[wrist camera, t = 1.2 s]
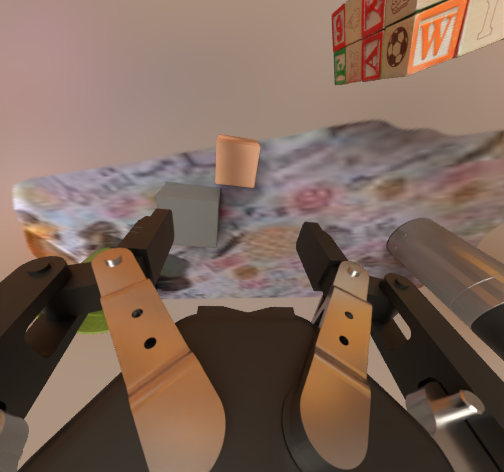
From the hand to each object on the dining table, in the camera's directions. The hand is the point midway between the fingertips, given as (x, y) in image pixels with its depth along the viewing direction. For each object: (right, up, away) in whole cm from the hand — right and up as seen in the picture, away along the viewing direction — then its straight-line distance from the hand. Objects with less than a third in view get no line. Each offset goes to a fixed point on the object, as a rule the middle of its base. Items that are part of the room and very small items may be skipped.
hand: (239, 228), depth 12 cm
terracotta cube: (-1, +11, +15) cm, 19 cm away
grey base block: (-9, +4, +19) cm, 22 cm away
